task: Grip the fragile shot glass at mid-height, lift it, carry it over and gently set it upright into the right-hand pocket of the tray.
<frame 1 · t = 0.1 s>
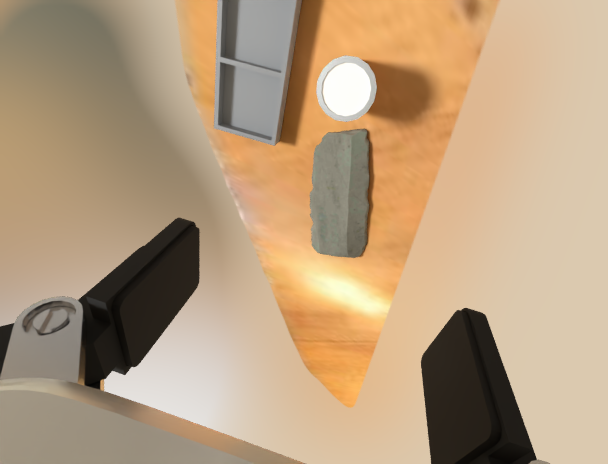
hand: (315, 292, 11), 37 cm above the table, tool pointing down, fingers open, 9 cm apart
tray: (257, 65, 41), on the table
stone slab: (339, 196, 50), on the table
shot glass: (351, 82, 40), on the table
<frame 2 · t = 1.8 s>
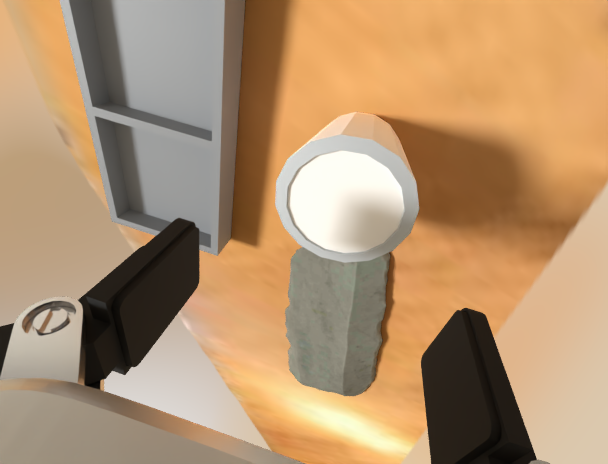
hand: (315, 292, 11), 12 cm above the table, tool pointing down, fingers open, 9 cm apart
tray: (174, 118, 21), on the table
stone slab: (333, 316, 30), on the table
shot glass: (357, 155, 20), on the table
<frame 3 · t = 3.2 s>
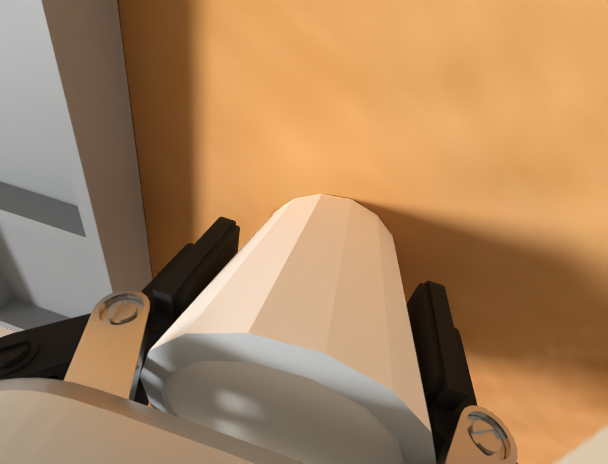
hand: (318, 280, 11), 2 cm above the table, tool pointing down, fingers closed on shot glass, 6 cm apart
tray: (50, 187, 14), on the table
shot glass: (327, 252, 13), on the table, touching gripper
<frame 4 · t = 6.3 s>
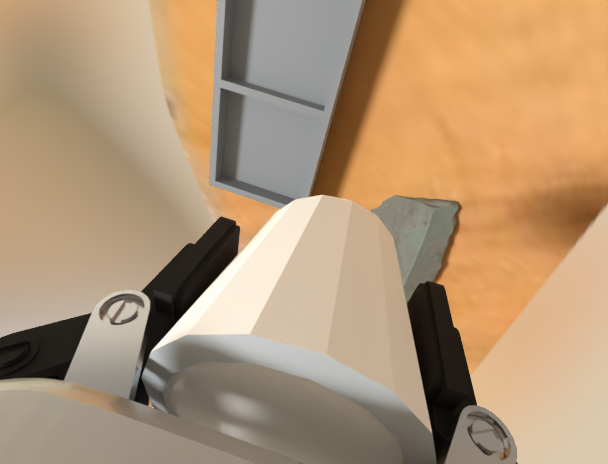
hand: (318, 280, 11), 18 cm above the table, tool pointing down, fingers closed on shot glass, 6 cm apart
tray: (280, 93, 25), on the table
stone slab: (383, 276, 34), on the table
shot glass: (327, 253, 13), point 16 cm above the table, touching gripper
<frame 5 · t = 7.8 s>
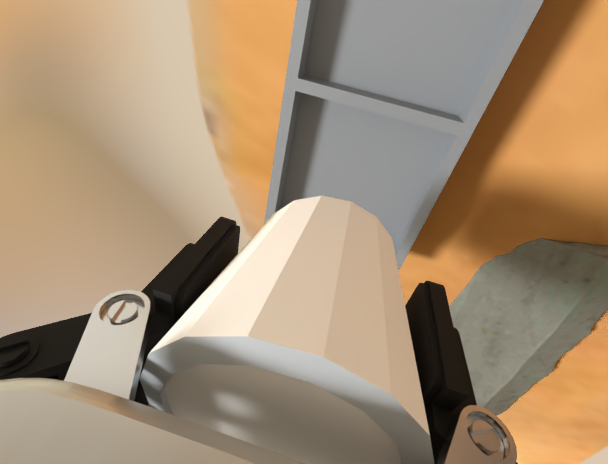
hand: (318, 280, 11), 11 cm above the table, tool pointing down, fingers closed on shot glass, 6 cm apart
tray: (378, 97, 17), on the table
stone slab: (487, 336, 26), on the table
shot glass: (326, 254, 13), point 9 cm above the table, touching gripper
when the fingers open (4 cm above the table, at t = 9.3 s): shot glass drops 1 cm, resting on tray.
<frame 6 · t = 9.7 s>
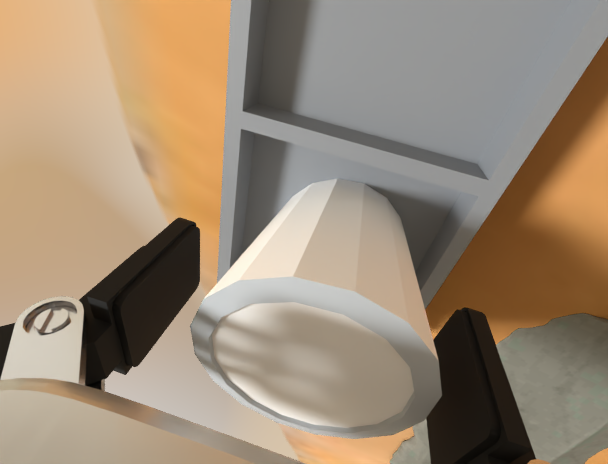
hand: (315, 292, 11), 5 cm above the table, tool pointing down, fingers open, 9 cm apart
tray: (363, 133, 12), on the table
stone slab: (502, 413, 21), on the table
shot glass: (339, 233, 14), point 1 cm above the table, touching tray
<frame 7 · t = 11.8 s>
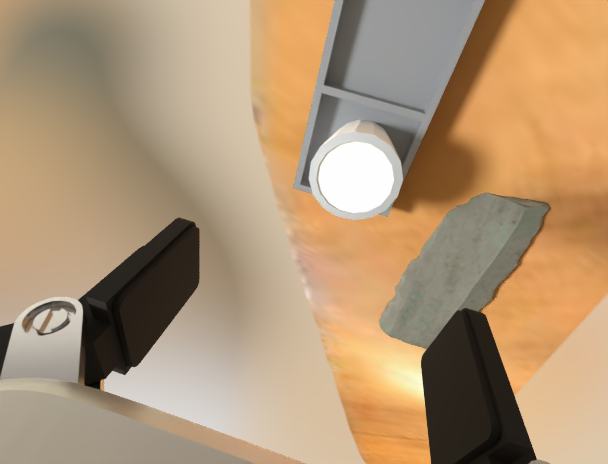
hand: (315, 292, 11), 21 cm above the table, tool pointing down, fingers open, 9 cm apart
tray: (373, 98, 26), on the table
stone slab: (448, 274, 35), on the table
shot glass: (360, 150, 28), point 1 cm above the table, touching tray
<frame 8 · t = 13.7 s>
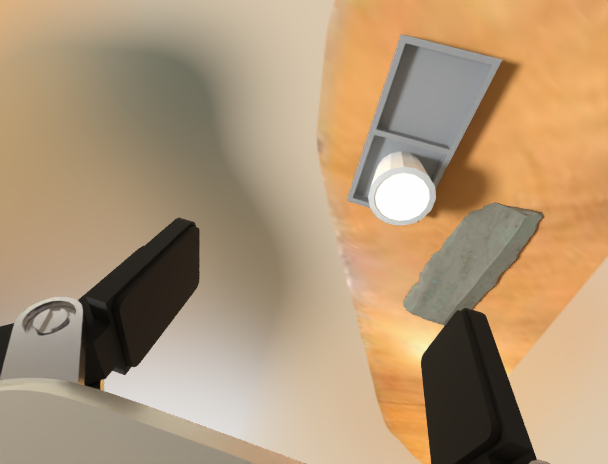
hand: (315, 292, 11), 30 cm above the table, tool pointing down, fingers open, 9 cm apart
tray: (410, 136, 36), on the table
stone slab: (462, 264, 44), on the table
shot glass: (398, 173, 37), point 1 cm above the table, touching tray
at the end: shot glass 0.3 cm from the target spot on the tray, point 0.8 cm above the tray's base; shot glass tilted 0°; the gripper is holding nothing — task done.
